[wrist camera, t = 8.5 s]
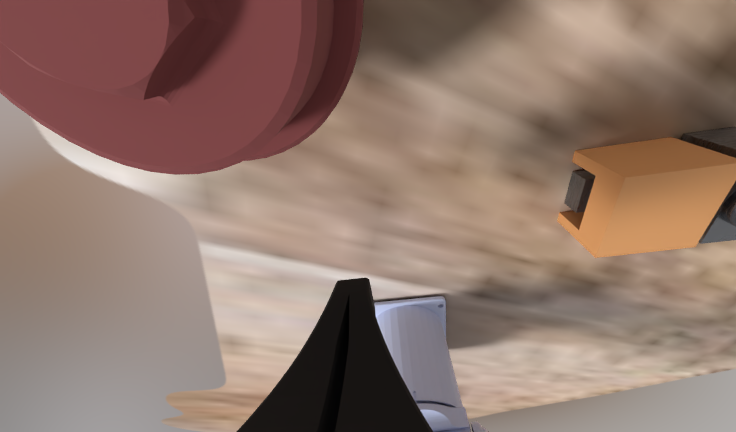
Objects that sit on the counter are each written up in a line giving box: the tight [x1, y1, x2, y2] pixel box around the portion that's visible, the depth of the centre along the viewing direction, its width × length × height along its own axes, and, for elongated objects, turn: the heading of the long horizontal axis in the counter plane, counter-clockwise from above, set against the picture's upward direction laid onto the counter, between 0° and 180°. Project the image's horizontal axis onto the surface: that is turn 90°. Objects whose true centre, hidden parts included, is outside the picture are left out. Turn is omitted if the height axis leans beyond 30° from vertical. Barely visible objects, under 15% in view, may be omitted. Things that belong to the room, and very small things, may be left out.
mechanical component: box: [0, 0, 364, 174], centre depth 10 cm, size 12×10×10 cm
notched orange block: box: [557, 137, 736, 258], centre depth 18 cm, size 6×6×4 cm
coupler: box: [565, 127, 736, 243], centre depth 18 cm, size 6×10×5 cm, turn 99°
